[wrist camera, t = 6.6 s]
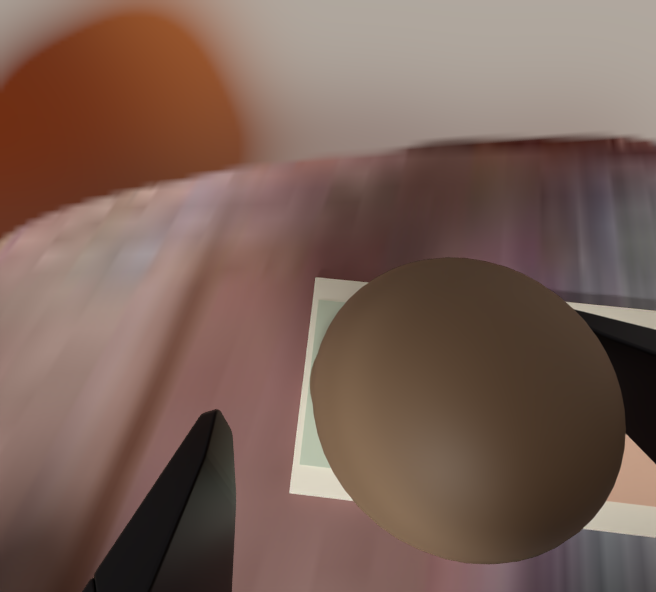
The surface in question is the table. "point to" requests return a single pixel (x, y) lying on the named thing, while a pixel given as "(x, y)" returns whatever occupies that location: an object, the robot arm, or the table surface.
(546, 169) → the table surface
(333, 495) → the track board
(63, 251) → the table surface
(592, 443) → the pawn
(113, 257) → the table surface
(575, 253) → the table surface
